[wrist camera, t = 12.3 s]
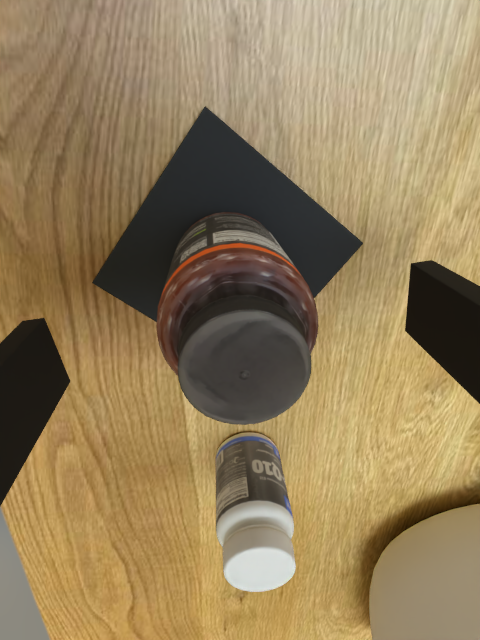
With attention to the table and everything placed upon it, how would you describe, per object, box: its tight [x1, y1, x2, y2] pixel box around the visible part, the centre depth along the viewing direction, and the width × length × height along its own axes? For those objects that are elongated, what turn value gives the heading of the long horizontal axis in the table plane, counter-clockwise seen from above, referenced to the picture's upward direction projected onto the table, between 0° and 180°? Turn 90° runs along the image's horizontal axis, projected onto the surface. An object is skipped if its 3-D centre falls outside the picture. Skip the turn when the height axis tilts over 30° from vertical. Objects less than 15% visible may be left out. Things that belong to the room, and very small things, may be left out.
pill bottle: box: [216, 432, 296, 592], centre depth 24 cm, size 5×5×8 cm
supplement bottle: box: [157, 212, 318, 425], centre depth 16 cm, size 6×6×11 cm
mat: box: [92, 107, 363, 322], centre depth 21 cm, size 11×11×1 cm
